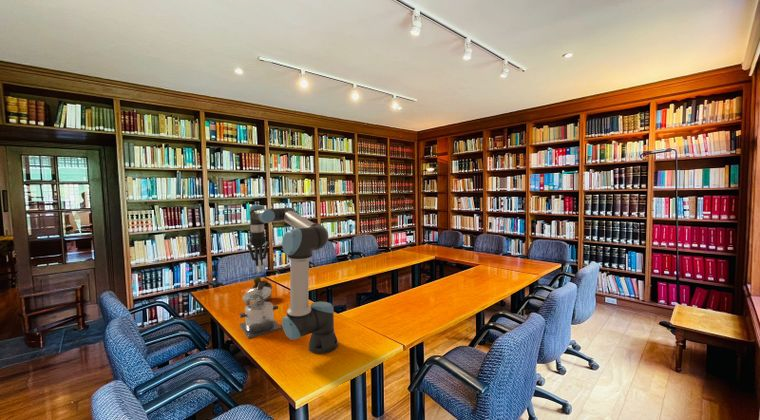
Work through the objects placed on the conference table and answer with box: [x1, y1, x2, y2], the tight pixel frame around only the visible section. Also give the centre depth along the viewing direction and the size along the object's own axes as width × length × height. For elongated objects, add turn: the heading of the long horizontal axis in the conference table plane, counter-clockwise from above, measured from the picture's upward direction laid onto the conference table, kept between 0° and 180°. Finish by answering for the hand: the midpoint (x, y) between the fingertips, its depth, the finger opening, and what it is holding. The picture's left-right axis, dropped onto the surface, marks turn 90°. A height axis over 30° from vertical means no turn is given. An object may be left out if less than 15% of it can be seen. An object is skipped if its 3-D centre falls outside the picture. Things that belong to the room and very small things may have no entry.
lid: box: [242, 280, 272, 304], centre depth 187 cm, size 24×17×4 cm
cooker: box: [238, 299, 283, 340], centre depth 188 cm, size 22×22×14 cm
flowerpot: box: [251, 275, 273, 303], centre depth 236 cm, size 14×15×20 cm
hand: (259, 271), depth 182 cm, fingers closed
